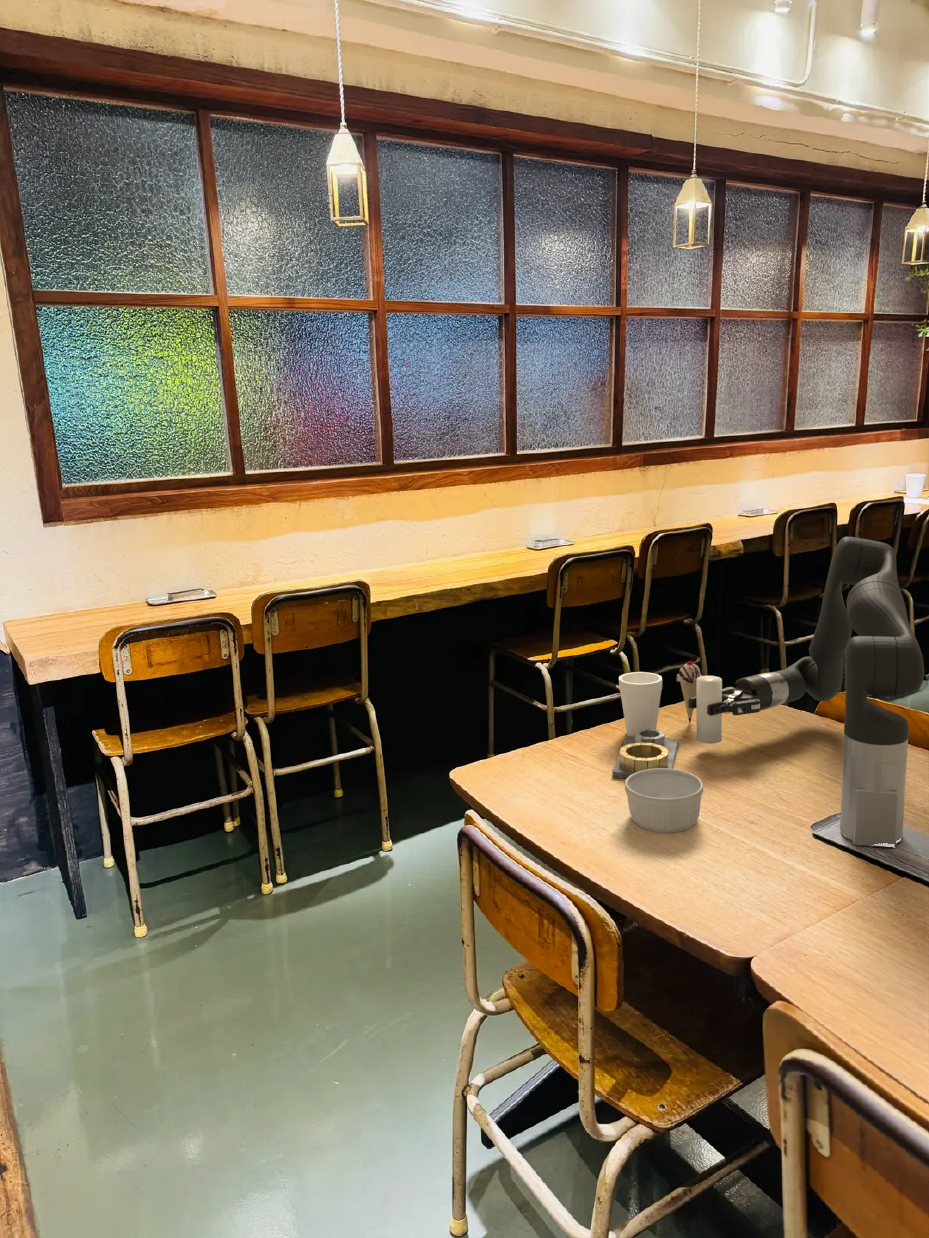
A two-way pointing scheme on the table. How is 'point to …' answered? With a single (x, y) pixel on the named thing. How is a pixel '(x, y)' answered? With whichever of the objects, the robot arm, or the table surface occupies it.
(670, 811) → the ramekin
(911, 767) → the table surface
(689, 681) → the ice cream cone
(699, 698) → the white rounded cylinder
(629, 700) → the foam cup
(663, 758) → the grey ring holder base
